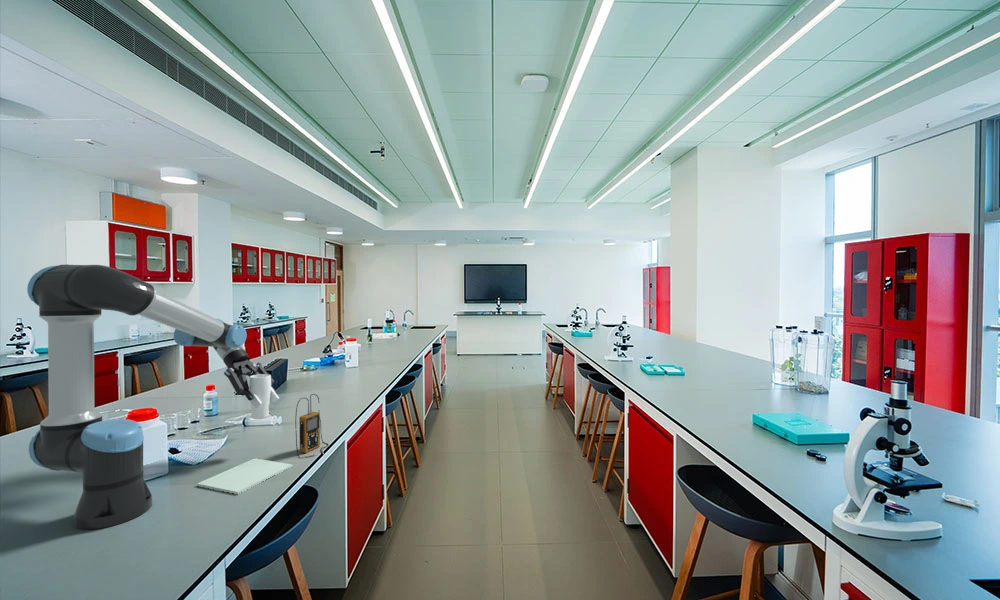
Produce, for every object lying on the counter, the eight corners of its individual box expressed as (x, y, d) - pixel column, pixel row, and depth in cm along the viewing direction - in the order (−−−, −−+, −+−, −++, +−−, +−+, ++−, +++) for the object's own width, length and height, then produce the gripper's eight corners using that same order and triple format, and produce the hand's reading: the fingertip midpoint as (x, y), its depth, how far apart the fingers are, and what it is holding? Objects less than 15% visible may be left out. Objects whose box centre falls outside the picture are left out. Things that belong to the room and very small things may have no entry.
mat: (237, 494, 121) (237, 491, 121) (197, 486, 126) (197, 483, 126) (292, 467, 140) (292, 464, 140) (255, 460, 145) (255, 458, 145)
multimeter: (314, 460, 146) (313, 402, 145) (291, 456, 149) (290, 400, 148) (343, 445, 159) (342, 392, 159) (321, 442, 163) (321, 390, 162)
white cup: (275, 415, 155) (275, 374, 155) (263, 420, 148) (263, 378, 148) (257, 414, 155) (257, 373, 155) (244, 420, 149) (244, 377, 148)
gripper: (251, 357, 166) (284, 403, 161) (201, 366, 147) (237, 417, 142) (261, 344, 164) (295, 390, 159) (213, 351, 145) (249, 403, 140)
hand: (268, 403), depth 151 cm, fingers closed on white cup, 7 cm apart
